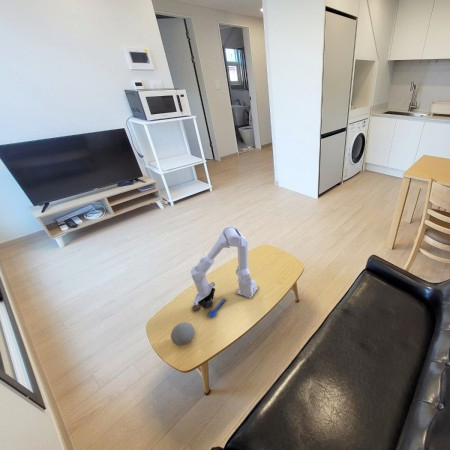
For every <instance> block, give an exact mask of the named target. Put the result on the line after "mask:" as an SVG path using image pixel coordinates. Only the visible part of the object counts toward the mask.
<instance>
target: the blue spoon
mask: <svg viewBox="0 0 450 450" xmlns="http://www.w3.org/2000/svg"><path fill="white" fill-rule="evenodd" d="M225 301H226V299H224V298H223V299H222V300H221V301H220V302H219V304H218V305H217V306H216V307H215V308H214V310H211V311H209V312H208V317H209V318H214V317H216V315H217V311H218V310H219V308H221V306H222V305H223V304H224V302H225Z"/></svg>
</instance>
